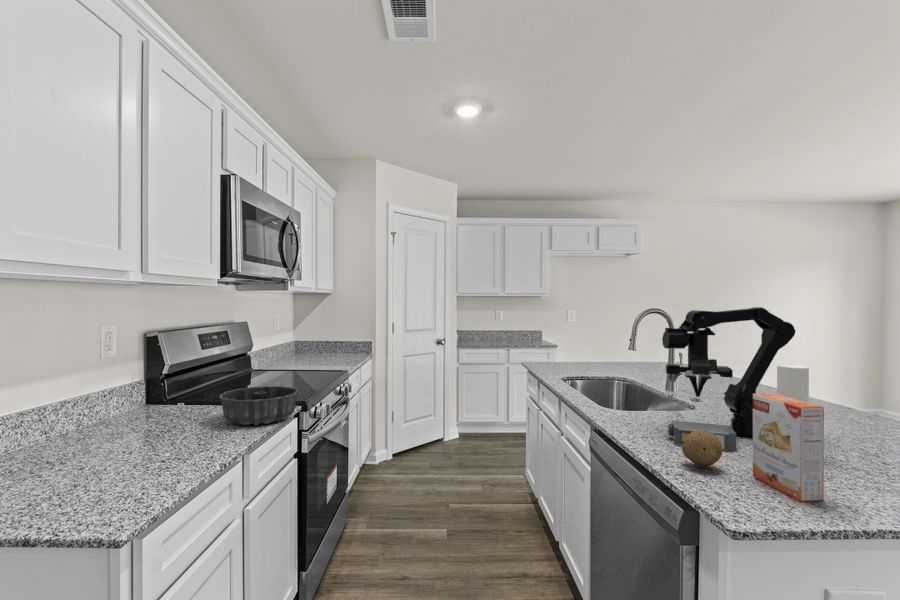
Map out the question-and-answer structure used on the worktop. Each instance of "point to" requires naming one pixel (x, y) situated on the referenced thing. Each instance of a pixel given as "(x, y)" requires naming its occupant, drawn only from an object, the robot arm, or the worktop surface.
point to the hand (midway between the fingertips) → (697, 396)
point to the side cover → (720, 439)
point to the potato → (702, 448)
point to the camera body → (683, 429)
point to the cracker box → (789, 445)
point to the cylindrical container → (793, 381)
